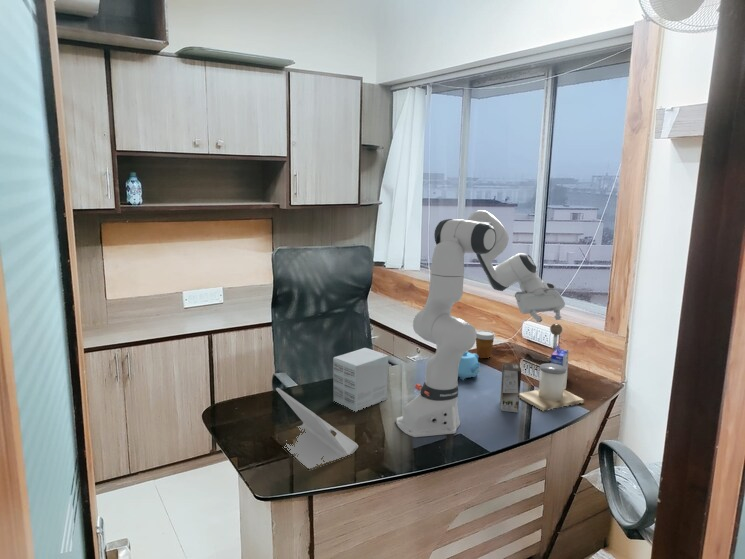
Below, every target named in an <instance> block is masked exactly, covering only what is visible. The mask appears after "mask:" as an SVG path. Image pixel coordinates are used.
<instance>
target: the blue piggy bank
mask: <svg viewBox="0 0 745 559" xmlns="http://www.w3.org/2000/svg"><path fill="white" fill-rule="evenodd" d="M480 367H481V363H480V362H479V357H478V355H477V353H472V352H469V351H467V352H465V353H464V354H463V356H462V358H461V360H460V363H459V368H458V378H459V380H460V379H465V380H466V379H467V378H471V377H475V378H476V376H477V375H479V373H480Z"/></svg>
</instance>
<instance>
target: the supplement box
mask: <svg viewBox="0 0 745 559" xmlns="http://www.w3.org/2000/svg"><path fill="white" fill-rule="evenodd" d="M332 359H333V360H332V362H333V363H332V364H333V369H332V370H333V371H332V372H333V373H332V374H333V377H332V378H333V402H334V401H335V402H337V403H339V404H341V405H344V406H346V407H348V408H349V409H351V410H353V411H352V412H354V411H355V412H354V413H357V412H359V411H361V410H364V409H366V407H367V408H369V407H371V405H372V406H374V405H376V404H379V403H382V402H384V401H387V400H388V398H389V397H388V391H389V388H388V386H389V385H388V384H389V383H388V382H389V355H388V354H386V353H383V352H380V351H376V350H373V349H371V348H367V347H363V348H360V349H357V350H354V351H350V352H347V353H344V354H340V355H337V356H334V357H333V358H332ZM381 401H382V402H381ZM335 402H334V403H335ZM337 403H336V404H337ZM339 404H338V405H339ZM341 405H340V406H341ZM363 408H364V409H363ZM349 409H348V410H349ZM351 410H350V411H351ZM358 410H359V411H358Z"/></svg>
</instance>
